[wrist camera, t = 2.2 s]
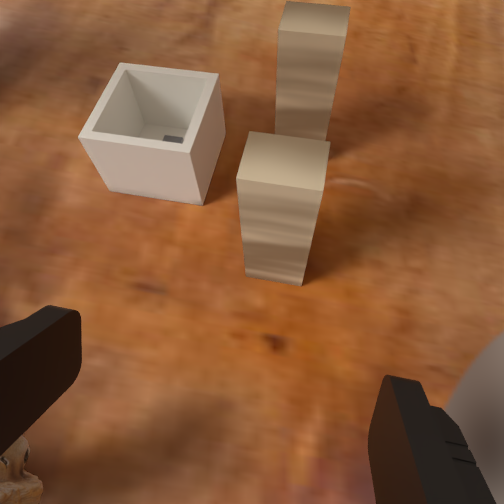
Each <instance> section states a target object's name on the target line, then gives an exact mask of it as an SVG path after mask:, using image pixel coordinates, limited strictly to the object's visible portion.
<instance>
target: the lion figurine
mask: <svg viewBox="0 0 504 504" xmlns="http://www.w3.org/2000/svg"><path fill="white" fill-rule="evenodd" d="M29 454H30V447H29V446H28V441H27V440H26V438H25V437H24V436H22V435H21V436H20V437H19V438H18V439H17V440H16V441H15V442H14V443H13V444H12V445H11V446H10V447H9V448H8V449H7V450H6V451H5V452H4V453H3V454H2V455H1V456H0V504H39V502H40V500H41V494H42V492H43V484H42V481H41V480H38V476H36V475H32V474H31V473H28V472H27V471H26V470H25V469H24V466H25V464H26V462H27V459H28V456H29Z"/></svg>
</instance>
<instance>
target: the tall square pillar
mask: <svg viewBox="0 0 504 504" xmlns="http://www.w3.org/2000/svg"><path fill="white" fill-rule="evenodd" d="M329 149H330V142H329V141H321V140H314V139H306V138H299V137H291V136H284V135H276V134H268V133H261V132H253V131H249V134H248V138H247V141H246V145H245V148H244V152H243V155H242V159H241V163H240V166H239V170H238V173H237V177H236V183H237V193H238V203H239V213H240V223H241V233H242V243H243V253H244V263H245V273H246V276H247V277H252V278H258V279H263V280H269V281H275V282H280V283H286V284H291V285H297V286H302V282H303V277H304V273H305V268H306V264H307V260H308V255H309V251H310V247H311V242H312V238H313V234H314V229H315V225H316V220H317V216H318V212H319V207H320V203H321V199H322V194H323V189H324V182H325V176H326V169H327V162H328V155H329Z"/></svg>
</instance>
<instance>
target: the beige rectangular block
mask: <svg viewBox="0 0 504 504" xmlns="http://www.w3.org/2000/svg"><path fill="white" fill-rule="evenodd" d="M349 14H350V7H347V6H336V5H325V4H314V3H303V2H291V1H286V4H285V8H284V11H283V15H282V18H281V22H280V25H279V29H278V51H277V80H276V110H275V134H276V135H284V136H291V137H299V138H306V139H314V140H321V141H325V140H326V135H327V130H328V125H329V120H330V115H331V110H332V105H333V100H334V95H335V90H336V85H337V80H338V75H339V70H340V65H341V60H342V55H343V50H344V45H345V39H346V34H347V27H348V20H349Z"/></svg>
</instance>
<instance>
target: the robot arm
mask: <svg viewBox="0 0 504 504" xmlns="http://www.w3.org/2000/svg"><path fill="white" fill-rule="evenodd" d="M81 363H82V346H81V316H80V313H79V312H78V311H76V310H72V309H67V308H62V307H57V306H52V305H48V306H45V307H44V308H42V309H40V310H39V311H37V312H35V313H34V314H32V315H31V316H29V317H27V318H26V319H23V320H20V321H18V322H15V323H12V324H9V325H6V326H3V327H1V328H0V456H1V455H2V454H3V453H4V452H5V451H6V450H7V449H8V448H9V447H10V446H11V445H12V444H13V443H14V442H15V441H16V440H17V439H18V438H19V437H20V436H21V435H22V434H23V433H24V432H25V431H26V430H27V429H28V428H29V427H30V426H31V425H32V424H33V423H34V422H35V421H36V420H37V419H38V418H39V417H40V416H41V415H42V414H43V413H44V412H45V411H46V410H47V409H48V408H49V407H50V406H51V405H52V404H53V403H54V402H55V401H56V400H57V399H58V398H59V397H60V396H61V395H62V394H63V393H64V392H65V391H66V390H67V389H68V388H69V387H70V386H71V385H72V384H73V383H74V381H75V380H76V378H77V376H78V374H79V371H80V368H81ZM368 454H369V461H370V467H371V474H372V480H373V486H374V492H375V499H376V504H496V502H495V500H494V498H493V496H492V494H491V492H490V490H489V488H488V486H487V484H486V482H485V480H484V478H483V475H482V474H481V471H480V469H479V467H476V461H475V459H474V457H473V455H472V453H471V451H470V450H468V445H467V443H466V441H465V438H464V436H463V434H462V432H461V430H460V428H459V426H458V425H457V424H456V423H455V422H454V421H453V420H452V419H451V418H450V417H449V416H448V415H447V414H446V412H445V411H444V410H443V409H442V408H439V407H434V406H430V404H429V402H428V400H427V397H426V395H425V392H424V390H423V388H422V385H421V383H420V382H419V381H416V380H411V379H406V378H401V377H396V376H391V375H385V377H384V378H383V381H382V384H381V388H380V391H379V395H378V399H377V402H376V406H375V409H374V413H373V417H372V420H371V424H370V428H369V435H368Z"/></svg>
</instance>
